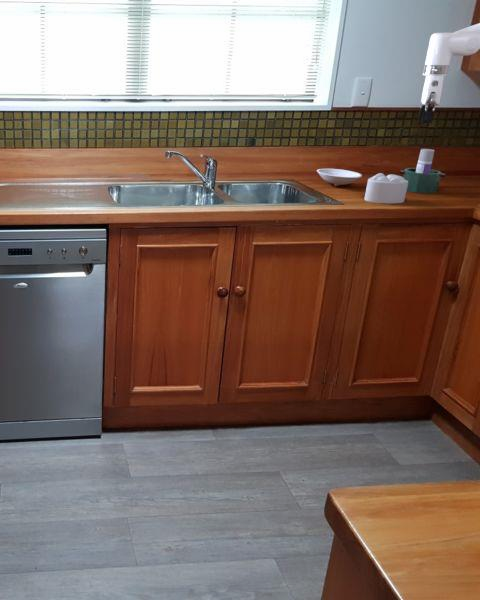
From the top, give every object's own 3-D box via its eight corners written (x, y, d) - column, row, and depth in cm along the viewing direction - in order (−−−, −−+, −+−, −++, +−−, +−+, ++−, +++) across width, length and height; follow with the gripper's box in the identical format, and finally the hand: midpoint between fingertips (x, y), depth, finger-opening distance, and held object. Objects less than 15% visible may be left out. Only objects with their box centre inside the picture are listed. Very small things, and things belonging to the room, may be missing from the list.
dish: (368, 188, 231) (371, 175, 229) (341, 191, 225) (344, 178, 223) (332, 179, 246) (334, 167, 244) (305, 182, 240) (308, 170, 238)
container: (424, 189, 232) (433, 149, 226) (426, 191, 228) (435, 151, 222) (410, 188, 233) (419, 148, 227) (412, 190, 229) (421, 150, 223)
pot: (438, 188, 233) (442, 169, 230) (443, 195, 223) (448, 175, 220) (395, 185, 238) (399, 166, 235) (398, 191, 228) (402, 172, 225)
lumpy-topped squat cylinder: (408, 202, 211) (414, 177, 208) (376, 204, 208) (382, 179, 205) (387, 195, 221) (392, 171, 217) (356, 197, 217) (361, 173, 214)
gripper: (452, 72, 203) (440, 125, 210) (443, 70, 218) (432, 119, 225) (426, 71, 206) (415, 124, 212) (420, 70, 220) (410, 118, 227)
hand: (424, 121), depth 218 cm, fingers open, 9 cm apart
